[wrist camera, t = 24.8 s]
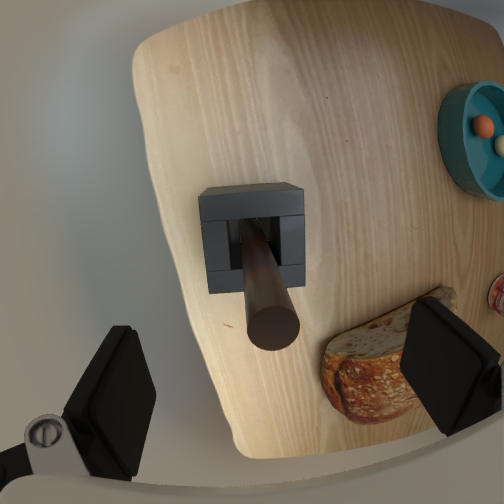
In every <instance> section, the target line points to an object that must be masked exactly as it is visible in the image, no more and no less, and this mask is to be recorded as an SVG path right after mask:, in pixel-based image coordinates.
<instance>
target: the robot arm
mask: <svg viewBox="0 0 504 504" xmlns="http://www.w3.org/2000/svg"><path fill="white" fill-rule="evenodd" d="M500 356H501V355H500V354H499V353H498V352H497V351H496V350H495V349H494V348H493V347H492V346H491V345H489V344H488V343H487V342H486V341H485V340H484V339H483V338H482V337H481V336H479V335H478V334H477V333H476V332H475V331H474V330H473V329H472V328H470V327H469V326H468V325H467V324H466V323H465V322H463V321H462V320H461V319H460V318H459V317H458V316H456V315H455V314H454V313H453V312H452V311H450V310H449V309H448V308H447V307H446V306H444V305H443V304H442V303H441V302H440V301H438V300H437V299H436V298H435V297H433V296H427V297H421V298H418V299H417V300H416V301H415V303H414V304H413V305H412V308H411V314H410V319H409V324H408V329H407V333H406V338H405V342H404V347H403V351H402V355H401V359H400V363H399V367H400V371H401V373H402V375H403V376H404V377H405V379H406V380H407V382H408V383H409V385H410V386H411V388H412V389H413V391H414V392H415V394H416V395H417V397H418V398H419V400H420V401H421V403H422V404H423V406H424V407H425V409H426V410H427V412H428V413H429V415H430V416H431V418H432V419H433V421H434V423H435V424H436V426H437V427H438V429H439V430H440V432H441V433H443V434H446V436H447V438H444V439H442V440H440V441H437V442H435V443H433V444H430V445H428V446H425V447H423V448H420V449H417V450H415V451H412V452H409V453H406V454H403V455H400V456H397V457H394V458H391V459H388V460H385V461H382V462H378V463H375V464H372V465H368V466H364V467H360V468H357V469H353V470H348V471H344V472H340V473H335V474H331V475H326V476H321V477H315V478H309V479H303V480H296V481H290V482H281V483H272V484H262V485H249V486H228V487H193V486H192V487H191V486H169V485H157V484H146V483H136V482H131V479H132V476H136V475H137V473H138V469H139V464H140V460H141V456H142V452H143V448H144V444H145V440H146V435H147V431H148V427H149V424H150V420H151V415H152V412H153V408H154V405H155V401H156V391H155V387H154V384H153V382H152V378H151V375H150V372H149V370H148V367H147V364H146V360H145V357H144V354H143V350H142V347H141V344H140V340H139V337H138V333H137V331H136V330H132V328H131V327H130V326H113V327H112V328H111V329H110V331H109V333H108V334H107V336H106V337H105V339H104V340H103V342H102V344H101V345H100V347H99V349H98V350H97V352H96V354H95V355H94V357H93V359H92V360H91V362H90V364H89V365H88V367H87V369H86V370H85V372H84V374H83V375H82V377H81V379H80V381H79V382H78V384H77V386H76V388H75V389H74V391H73V393H72V395H71V397H70V398H69V400H68V402H67V404H66V406H65V407H64V412H63V414H62V416H61V417H60V416H57V415H54V414H46V415H42V416H39V417H37V418H35V419H34V420H32V421H31V422H30V423H29V424H28V426H27V427H26V430H25V433H24V440H25V442H24V443H22V444H20V445H17V446H15V447H12V448H10V449H7V450H5V451H3V452H0V504H504V361H503V362H502V364H501V366H500V365H499V364H498V361H499V359H500Z"/></svg>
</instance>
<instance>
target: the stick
mask: <svg viewBox="0 0 504 504" xmlns="http://www.w3.org/2000/svg"><path fill="white" fill-rule="evenodd" d="M240 241H241V255H242V269H243V283H244V297H245V310H246V323H247V334H248V337H249V339H250V341H251V342H252V343H253V344H254V345H255V346H257V347H258V348H260V349H263V350H268V351H276V350H280V349H283V348H285V347H287V346H289V345H290V344H291V343H293V341H294V340H295V339H296V338H297V336H298V333H299V330H300V322H299V319H298V316H297V314H296V311H295V309H294V306H293V304H292V301H291V299H290V296H289V294H288V291H287V288H286V286H285V283H284V281H283V278H282V276H281V273H280V271H279V268H278V266H277V263H276V261H275V258H274V256H273V253H272V251H271V249H270V246H269V244H268V241H267V239H266V236H265V234H264V231H263V229H262V226H261V224H260V222H259V220H258V219H256V218H247V219H243V220H242V221H241V223H240Z"/></svg>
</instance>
